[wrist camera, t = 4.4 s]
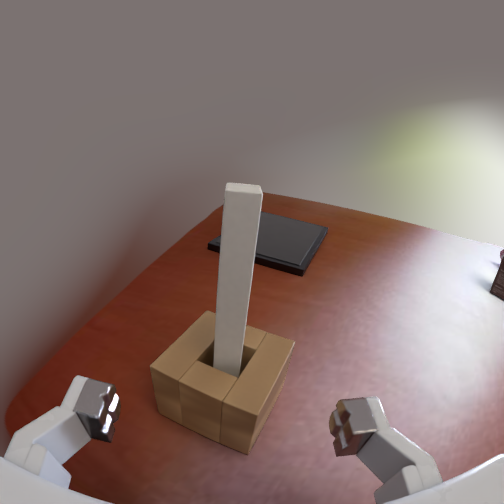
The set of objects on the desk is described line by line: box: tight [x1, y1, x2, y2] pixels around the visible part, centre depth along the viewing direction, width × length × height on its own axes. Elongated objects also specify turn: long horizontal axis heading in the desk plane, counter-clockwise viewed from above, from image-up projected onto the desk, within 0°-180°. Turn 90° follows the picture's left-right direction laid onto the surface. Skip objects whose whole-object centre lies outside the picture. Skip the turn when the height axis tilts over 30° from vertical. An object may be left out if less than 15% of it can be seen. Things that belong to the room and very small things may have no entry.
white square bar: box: [213, 183, 263, 378], centre depth 16 cm, size 2×2×15 cm
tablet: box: [208, 212, 328, 276], centre depth 49 cm, size 20×14×1 cm
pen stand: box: [150, 311, 295, 455], centre depth 18 cm, size 7×7×5 cm
